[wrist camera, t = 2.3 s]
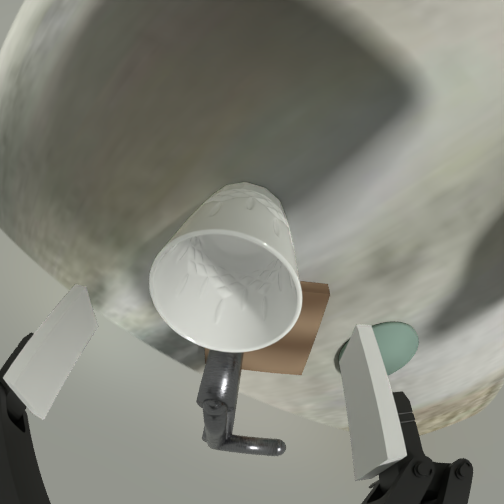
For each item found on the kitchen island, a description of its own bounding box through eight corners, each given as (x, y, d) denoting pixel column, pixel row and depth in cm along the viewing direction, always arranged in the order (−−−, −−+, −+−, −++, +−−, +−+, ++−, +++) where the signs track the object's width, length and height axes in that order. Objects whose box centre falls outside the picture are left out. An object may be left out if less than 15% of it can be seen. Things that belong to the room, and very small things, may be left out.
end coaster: (354, 319, 26) (355, 323, 26) (430, 322, 26) (432, 326, 26) (328, 376, 31) (328, 379, 31) (395, 375, 31) (396, 379, 31)
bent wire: (223, 289, 24) (192, 402, 14) (303, 298, 24) (311, 416, 14) (221, 356, 29) (201, 450, 19) (285, 364, 28) (282, 459, 19)
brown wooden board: (206, 269, 25) (202, 278, 24) (327, 284, 25) (330, 294, 23) (207, 354, 31) (205, 363, 30) (300, 365, 31) (301, 375, 29)
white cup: (235, 278, 25) (214, 366, 17) (177, 210, 22) (121, 279, 14) (311, 234, 22) (329, 320, 14) (255, 154, 20) (237, 195, 11)
